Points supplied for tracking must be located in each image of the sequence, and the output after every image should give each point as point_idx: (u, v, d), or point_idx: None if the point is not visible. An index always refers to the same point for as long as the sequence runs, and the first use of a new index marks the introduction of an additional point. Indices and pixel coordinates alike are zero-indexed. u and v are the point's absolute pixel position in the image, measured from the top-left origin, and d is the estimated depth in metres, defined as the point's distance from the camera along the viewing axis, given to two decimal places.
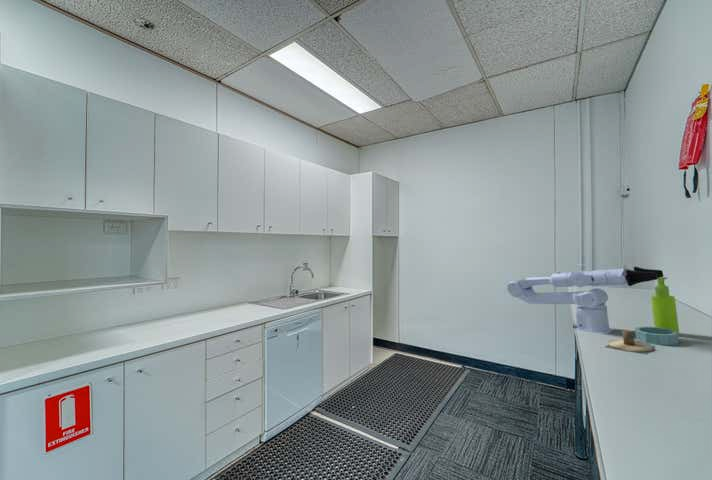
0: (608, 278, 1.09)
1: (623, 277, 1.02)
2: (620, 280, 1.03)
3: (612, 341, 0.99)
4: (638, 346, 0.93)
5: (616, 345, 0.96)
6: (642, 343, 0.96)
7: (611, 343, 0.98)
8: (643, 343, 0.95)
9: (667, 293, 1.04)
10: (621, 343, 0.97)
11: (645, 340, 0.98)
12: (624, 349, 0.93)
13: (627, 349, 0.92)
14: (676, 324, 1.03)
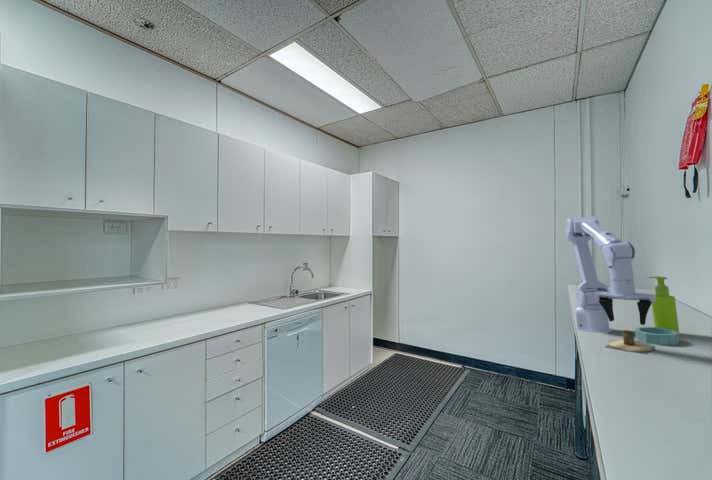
0: None
1: None
2: None
3: (612, 341, 0.99)
4: (638, 346, 0.93)
5: (616, 345, 0.96)
6: (642, 343, 0.96)
7: (611, 343, 0.98)
8: (643, 343, 0.95)
9: (667, 293, 1.05)
10: (621, 343, 0.97)
11: (645, 340, 0.98)
12: (624, 349, 0.93)
13: (627, 349, 0.92)
14: (676, 324, 1.03)
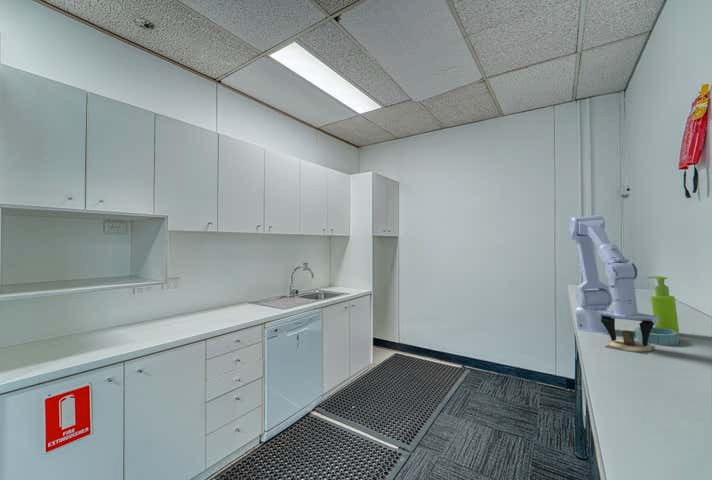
0: None
1: None
2: None
3: (612, 341, 0.99)
4: (638, 346, 0.93)
5: (616, 345, 0.96)
6: (642, 343, 0.96)
7: (611, 343, 0.98)
8: None
9: (667, 293, 1.05)
10: (621, 343, 0.97)
11: None
12: (624, 349, 0.93)
13: (627, 349, 0.92)
14: (676, 324, 1.03)
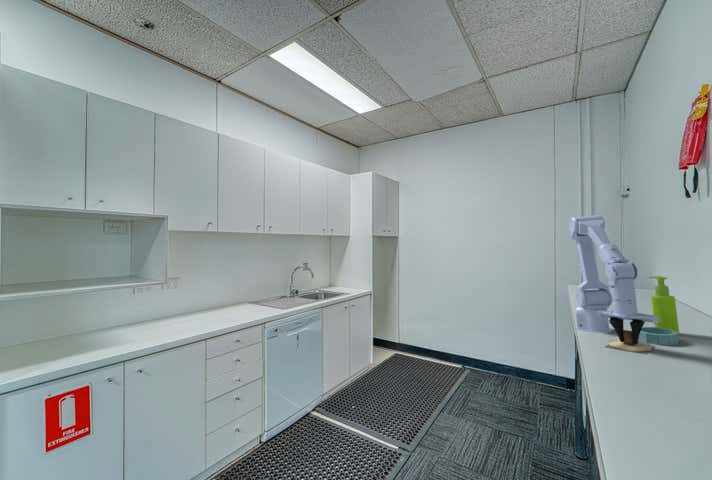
0: None
1: None
2: None
3: (612, 341, 0.99)
4: (638, 346, 0.93)
5: (616, 345, 0.96)
6: (642, 343, 0.96)
7: (611, 343, 0.98)
8: (643, 343, 0.95)
9: (667, 293, 1.05)
10: (621, 342, 0.97)
11: (645, 340, 0.98)
12: (624, 349, 0.93)
13: (627, 349, 0.92)
14: (676, 324, 1.03)
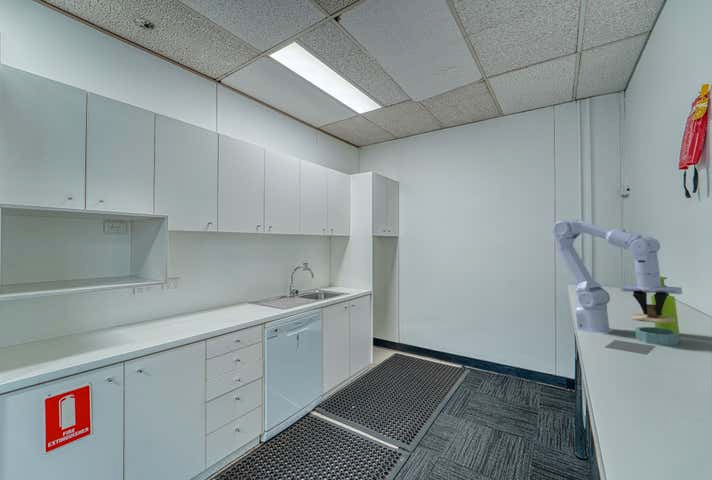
0: None
1: None
2: None
3: (635, 315, 1.03)
4: (661, 318, 0.97)
5: (639, 317, 0.99)
6: (665, 317, 0.99)
7: (634, 316, 1.01)
8: (666, 317, 0.99)
9: None
10: (644, 316, 1.01)
11: (645, 340, 0.98)
12: (647, 320, 0.96)
13: (650, 320, 0.96)
14: (676, 324, 1.03)
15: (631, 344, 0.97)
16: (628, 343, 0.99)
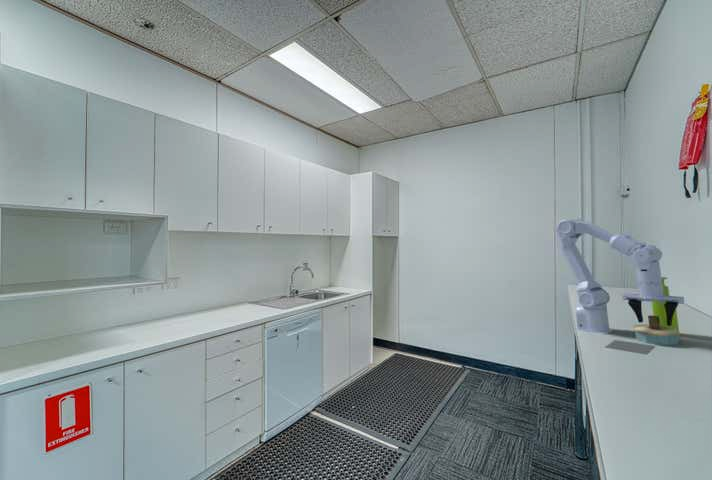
0: None
1: None
2: None
3: (637, 326, 1.03)
4: (664, 330, 0.97)
5: (642, 329, 0.99)
6: (668, 328, 0.99)
7: (637, 328, 1.01)
8: (669, 328, 0.99)
9: (667, 293, 1.05)
10: (647, 327, 1.01)
11: (645, 340, 0.98)
12: (650, 333, 0.96)
13: (653, 333, 0.96)
14: (676, 324, 1.03)
15: (631, 344, 0.97)
16: (628, 343, 0.99)
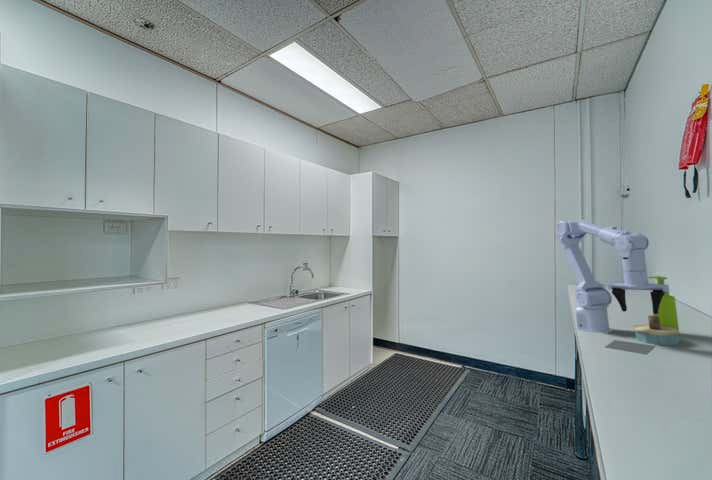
0: None
1: None
2: None
3: (637, 326, 1.03)
4: (664, 330, 0.97)
5: (642, 329, 0.99)
6: (668, 328, 0.99)
7: (637, 328, 1.01)
8: (669, 328, 0.99)
9: (667, 293, 1.05)
10: (647, 327, 1.01)
11: (645, 340, 0.98)
12: (650, 333, 0.96)
13: (653, 333, 0.96)
14: (676, 324, 1.03)
15: (631, 344, 0.97)
16: (628, 343, 0.99)
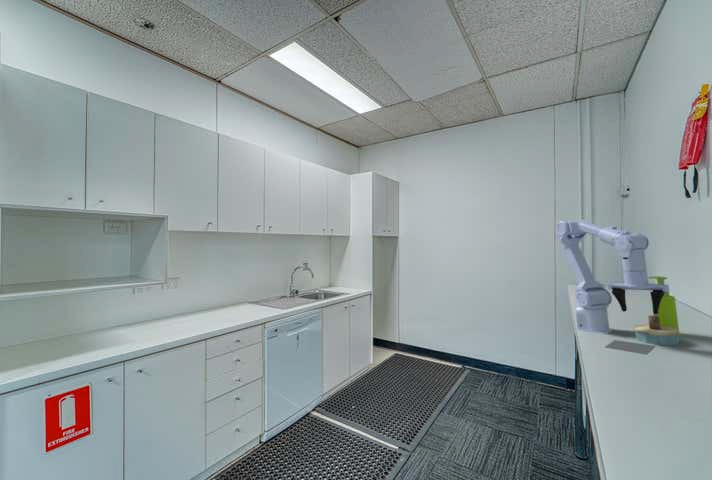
0: None
1: None
2: None
3: (637, 326, 1.03)
4: (664, 330, 0.97)
5: (642, 329, 0.99)
6: (668, 328, 0.99)
7: (637, 328, 1.01)
8: (669, 328, 0.99)
9: (667, 293, 1.05)
10: (647, 327, 1.01)
11: (645, 340, 0.98)
12: (650, 333, 0.96)
13: (653, 333, 0.96)
14: (676, 324, 1.03)
15: (631, 344, 0.97)
16: (628, 343, 0.99)
